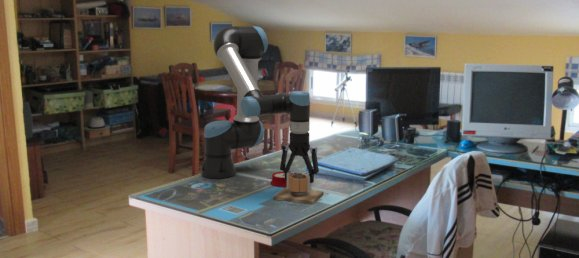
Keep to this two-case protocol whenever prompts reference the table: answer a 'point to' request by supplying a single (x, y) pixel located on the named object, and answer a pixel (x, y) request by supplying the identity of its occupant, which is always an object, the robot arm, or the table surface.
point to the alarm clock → (279, 179)
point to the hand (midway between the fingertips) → (299, 189)
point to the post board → (300, 199)
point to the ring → (298, 183)
